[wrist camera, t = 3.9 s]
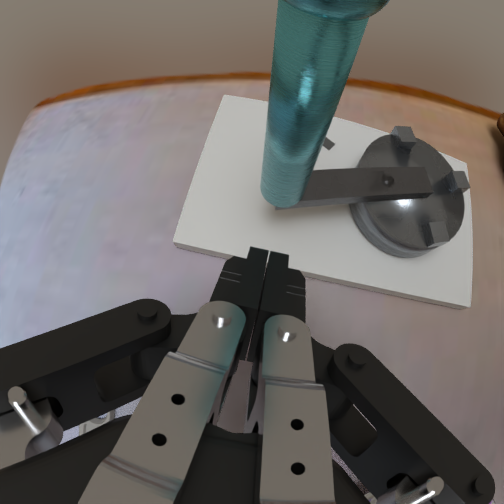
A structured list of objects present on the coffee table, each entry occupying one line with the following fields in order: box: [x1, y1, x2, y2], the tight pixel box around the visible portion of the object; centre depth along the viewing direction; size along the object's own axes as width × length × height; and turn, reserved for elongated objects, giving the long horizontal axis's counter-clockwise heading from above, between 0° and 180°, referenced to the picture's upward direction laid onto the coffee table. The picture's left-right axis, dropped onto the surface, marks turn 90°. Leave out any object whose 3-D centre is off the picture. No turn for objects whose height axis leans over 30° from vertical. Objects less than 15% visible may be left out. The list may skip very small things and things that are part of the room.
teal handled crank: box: [260, 0, 470, 258], centre depth 13 cm, size 16×9×19 cm, turn 97°
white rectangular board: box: [173, 95, 473, 309], centre depth 24 cm, size 24×14×2 cm, turn 77°
